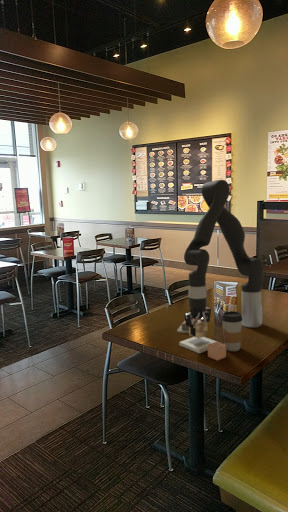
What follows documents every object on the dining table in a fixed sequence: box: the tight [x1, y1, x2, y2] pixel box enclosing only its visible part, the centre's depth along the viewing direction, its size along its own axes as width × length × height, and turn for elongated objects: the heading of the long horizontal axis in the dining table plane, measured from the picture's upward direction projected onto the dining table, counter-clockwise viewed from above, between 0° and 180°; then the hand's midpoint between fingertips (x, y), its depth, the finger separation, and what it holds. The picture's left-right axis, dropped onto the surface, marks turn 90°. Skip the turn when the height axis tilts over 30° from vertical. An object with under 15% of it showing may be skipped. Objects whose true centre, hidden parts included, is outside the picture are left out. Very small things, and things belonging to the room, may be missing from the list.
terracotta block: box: [207, 341, 227, 361], centre depth 150 cm, size 5×5×5 cm
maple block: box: [188, 320, 208, 338], centre depth 162 cm, size 6×6×6 cm
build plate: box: [178, 336, 218, 354], centre depth 163 cm, size 12×12×2 cm
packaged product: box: [176, 319, 200, 334], centre depth 186 cm, size 18×5×10 cm
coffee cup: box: [221, 310, 243, 352], centre depth 157 cm, size 8×8×15 cm
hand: (198, 333), depth 162 cm, fingers closed on maple block, 5 cm apart
